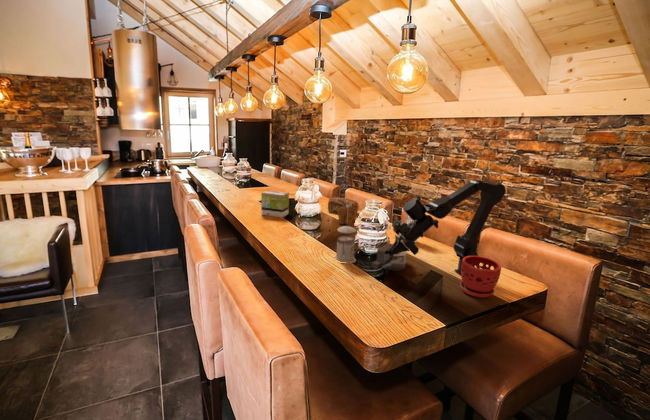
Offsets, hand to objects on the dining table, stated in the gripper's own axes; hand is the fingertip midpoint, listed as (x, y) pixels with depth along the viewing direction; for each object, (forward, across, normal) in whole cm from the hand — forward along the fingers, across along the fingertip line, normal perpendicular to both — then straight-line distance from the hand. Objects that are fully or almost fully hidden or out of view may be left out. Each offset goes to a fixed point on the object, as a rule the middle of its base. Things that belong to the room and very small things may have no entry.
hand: (388, 254), depth 139 cm
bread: (+13, -103, +2) cm, 104 cm away
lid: (0, -8, +4) cm, 9 cm away
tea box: (+44, -93, -31) cm, 107 cm away
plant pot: (-14, +13, +29) cm, 35 cm away
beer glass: (-9, -44, +23) cm, 51 cm away
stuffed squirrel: (+12, -76, +2) cm, 77 cm away
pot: (+5, -8, +8) cm, 13 cm away
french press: (+18, -16, -4) cm, 24 cm away
